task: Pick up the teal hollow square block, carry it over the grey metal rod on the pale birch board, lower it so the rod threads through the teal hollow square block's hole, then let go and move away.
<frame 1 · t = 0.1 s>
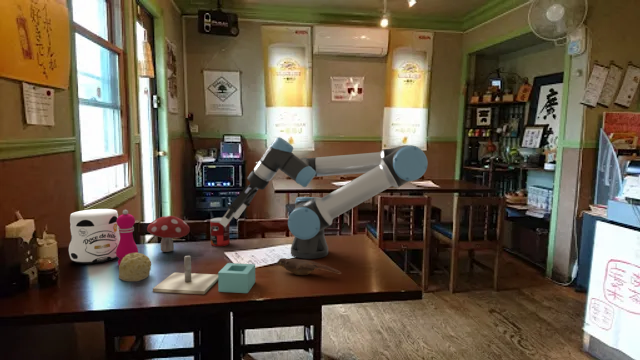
hand: (228, 220, 147), 15 cm above the table, tool tilted 35°, fingers open, 13 cm apart
pepper mill: (127, 264, 143), on the table
teal hollow square block: (237, 286, 123), on the table
rod stand: (188, 284, 125), on the table
rock: (135, 277, 131), on the table
dulce de leche jar: (96, 260, 148), on the table
canned food: (220, 244, 171), on the table
bird sculpture: (306, 276, 134), on the table
decorative mushroom: (169, 252, 159), on the table
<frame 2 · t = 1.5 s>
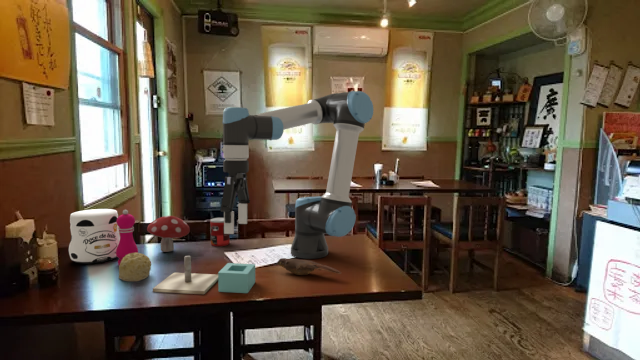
hand: (236, 228, 121), 19 cm above the table, tool pointing down, fingers open, 13 cm apart
nothing on the table moved.
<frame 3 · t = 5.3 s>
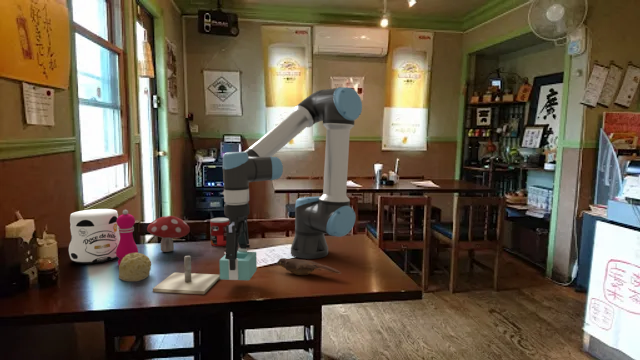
hand: (238, 273, 123), 4 cm above the table, tool pointing down, fingers closed on teal hollow square block, 9 cm apart
teal hollow square block: (238, 274, 123), point 4 cm above the table, touching gripper
everything else where it was.
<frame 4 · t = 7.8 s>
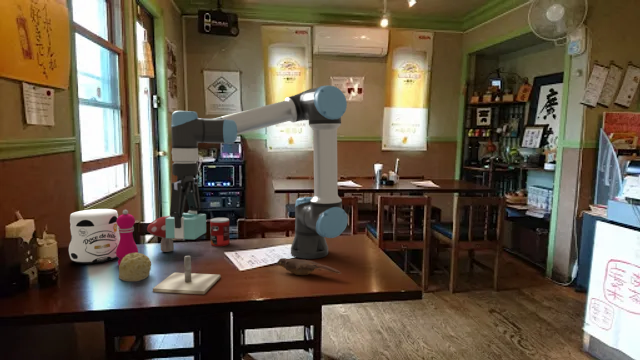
hand: (186, 234, 123), 16 cm above the table, tool pointing down, fingers closed on teal hollow square block, 9 cm apart
teal hollow square block: (186, 235, 123), point 16 cm above the table, touching gripper
everything else where it was.
when the fingers open (3 cm above the table, at t = 10.4 s): teal hollow square block drops 2 cm, resting on rod stand.
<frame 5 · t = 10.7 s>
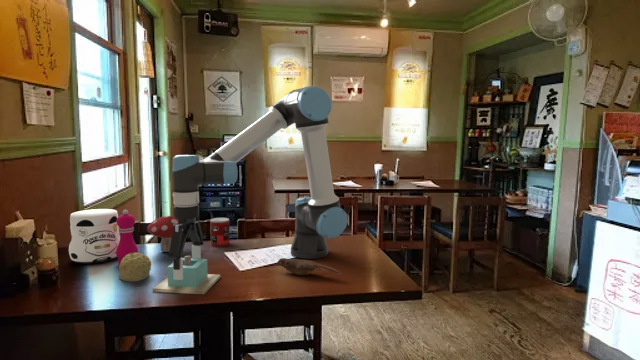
hand: (187, 271, 124), 4 cm above the table, tool pointing down, fingers open, 13 cm apart
teal hollow square block: (188, 281, 125), point 1 cm above the table, touching rod stand
everything else where it was.
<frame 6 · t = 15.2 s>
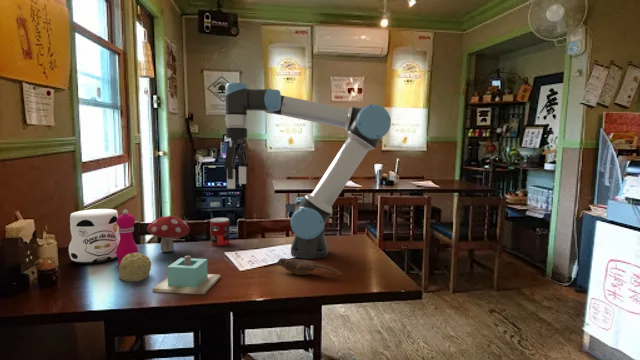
hand: (237, 186, 144), 29 cm above the table, tool pointing down, fingers open, 13 cm apart
nothing on the table moved.
at the end: teal hollow square block 0.1 cm from the rod stand (horizontally); teal hollow square block point 1.0 cm above the table; the gripper is holding nothing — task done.
